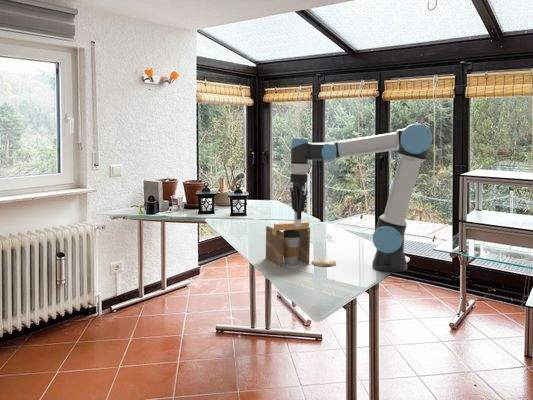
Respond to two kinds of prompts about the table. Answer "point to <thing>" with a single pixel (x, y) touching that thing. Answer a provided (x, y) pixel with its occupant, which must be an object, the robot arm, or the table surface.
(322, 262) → the coaster
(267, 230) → the cradle
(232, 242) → the table surface
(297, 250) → the coffee cup
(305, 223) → the orange notched bar
